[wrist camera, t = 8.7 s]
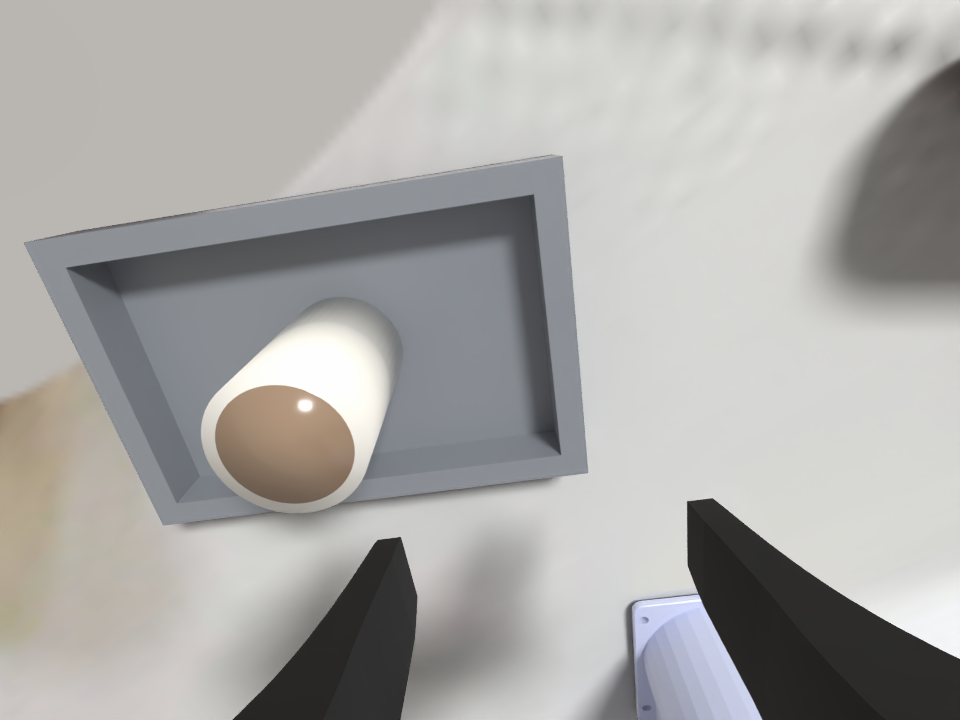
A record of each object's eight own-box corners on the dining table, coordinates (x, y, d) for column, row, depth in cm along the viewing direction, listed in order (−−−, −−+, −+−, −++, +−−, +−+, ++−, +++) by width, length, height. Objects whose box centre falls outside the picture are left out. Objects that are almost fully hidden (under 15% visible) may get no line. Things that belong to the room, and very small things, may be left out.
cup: (413, 395, 21) (384, 505, 15) (305, 409, 22) (231, 523, 15) (390, 289, 20) (346, 361, 13) (274, 305, 20) (174, 383, 13)
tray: (577, 440, 23) (588, 472, 21) (193, 488, 24) (163, 525, 22) (552, 154, 18) (562, 156, 16) (78, 231, 19) (23, 242, 17)
